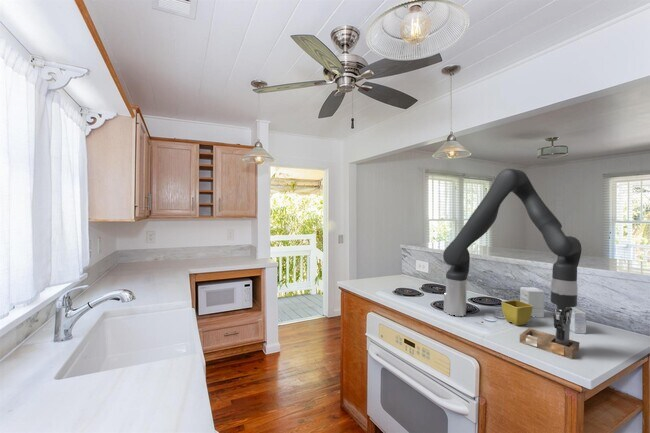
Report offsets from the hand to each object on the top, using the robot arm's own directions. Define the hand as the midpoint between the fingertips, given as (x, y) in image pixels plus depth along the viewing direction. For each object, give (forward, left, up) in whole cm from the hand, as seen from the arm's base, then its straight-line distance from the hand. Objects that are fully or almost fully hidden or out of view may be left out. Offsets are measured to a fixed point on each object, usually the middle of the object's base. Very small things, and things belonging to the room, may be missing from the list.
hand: (562, 337), depth 110 cm
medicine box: (-2, +27, -5) cm, 28 cm away
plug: (0, 0, -3) cm, 3 cm away
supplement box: (-19, +33, -5) cm, 39 cm away
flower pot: (-20, +15, -5) cm, 25 cm away
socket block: (-4, 0, -5) cm, 6 cm away
